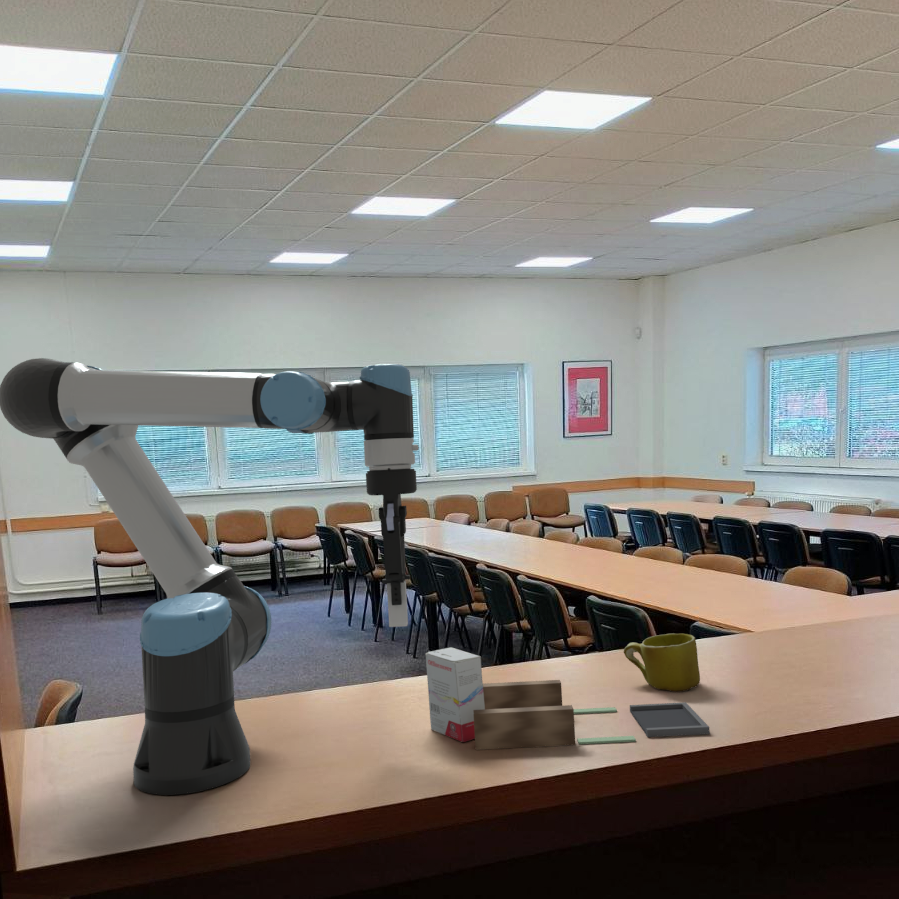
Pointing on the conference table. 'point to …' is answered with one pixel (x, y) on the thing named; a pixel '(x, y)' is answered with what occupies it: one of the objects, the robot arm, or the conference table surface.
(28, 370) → the robot arm
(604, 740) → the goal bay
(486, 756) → the conference table surface
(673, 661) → the mug
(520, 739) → the tunnel walls
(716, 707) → the conference table surface
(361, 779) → the conference table surface
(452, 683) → the ink box
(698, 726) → the grey flat tray
